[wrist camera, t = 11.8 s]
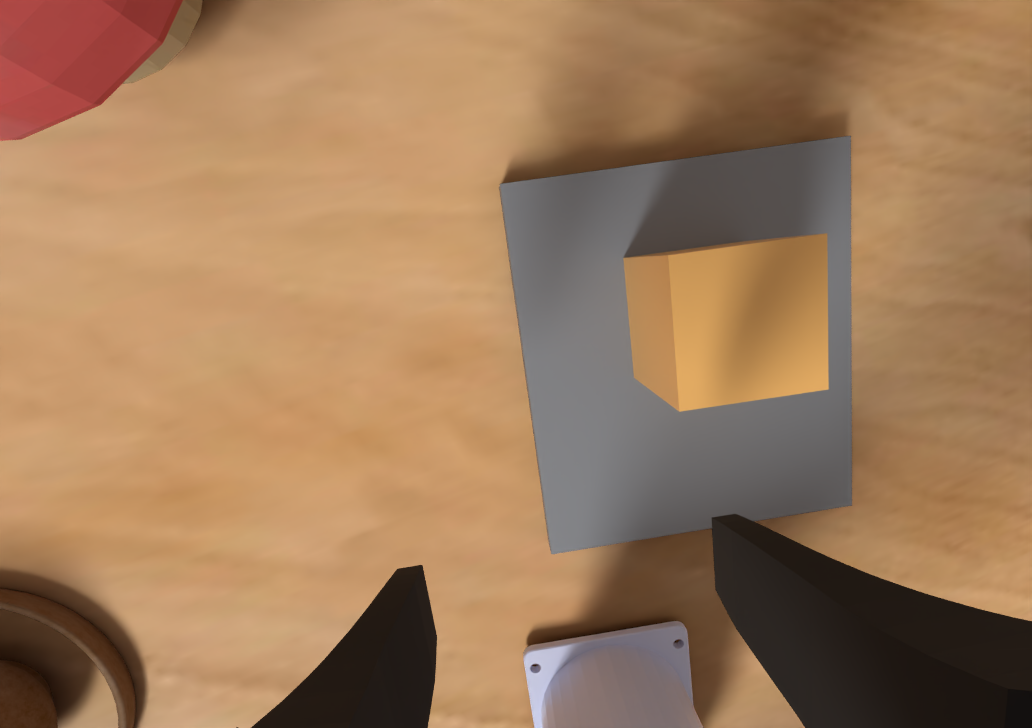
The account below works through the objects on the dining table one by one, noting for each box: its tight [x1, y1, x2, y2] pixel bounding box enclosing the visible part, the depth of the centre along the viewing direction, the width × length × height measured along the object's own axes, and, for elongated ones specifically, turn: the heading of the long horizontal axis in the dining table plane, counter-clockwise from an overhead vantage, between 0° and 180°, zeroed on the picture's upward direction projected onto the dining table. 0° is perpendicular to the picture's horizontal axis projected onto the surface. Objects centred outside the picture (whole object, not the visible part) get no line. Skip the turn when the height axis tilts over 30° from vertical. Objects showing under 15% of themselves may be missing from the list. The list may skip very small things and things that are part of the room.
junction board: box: [499, 136, 852, 554], centre depth 20 cm, size 16×14×4 cm
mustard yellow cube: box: [623, 233, 829, 412], centre depth 18 cm, size 5×5×5 cm
